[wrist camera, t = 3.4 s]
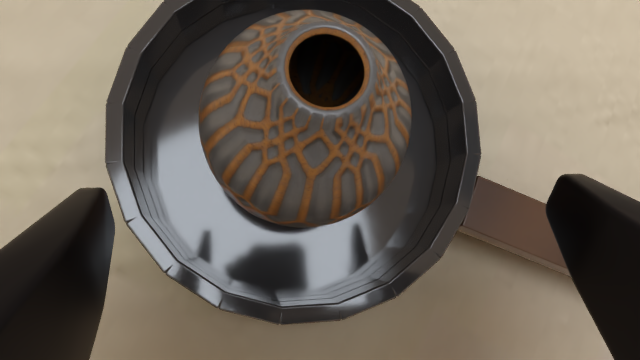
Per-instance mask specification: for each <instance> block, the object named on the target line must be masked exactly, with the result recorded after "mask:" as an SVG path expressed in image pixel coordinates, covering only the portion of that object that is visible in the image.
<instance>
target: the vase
mask: <svg viewBox="0 0 640 360" xmlns="http://www.w3.org/2000/svg"><path fill="white" fill-rule="evenodd" d="M198 120H199V135H200V141H201V145H202V149H203V152H204V155H205V158H206V161H207V163H208V166H209V168H210V170H211V172H212V173H213V175H214V177H215V179H216V180H217V182H218V183H219V184H220V186H221V187H222V188H223V189H224V191H225V192H226V193H227V194H228V195H229V196H230V197H231V198H232V199H233V200H234V201H235V202H236V203H237V204H238V205H240V206H241V207H242V208H244V209H245V210H247V211H248V212H250V213H251V214H253V215H255V216H257V217H259V218H261V219H263V220H266V221H269V222H271V223H275V224H278V225H282V226H288V227H297V228H308V227H319V226H325V225H330V224H333V223H336V222H339V221H342V220H345V219H347V218H349V217H351V216H353V215H355V214H357V213H358V212H360V211H362V210H363V209H365V208H366V207H367V206H369V205H370V204H371V203H373V202H374V201H375V200H376V199H377V198H378V197H379V196H380V195H381V194H382V193H383V192H384V191H385V189H386V188H387V187H388V186H389V184H390V183H391V182H392V180H393V179H394V177H395V175H396V174H397V172H398V170H399V168H400V166H401V164H402V161H403V159H404V156H405V154H406V150H407V147H408V143H409V138H410V132H411V122H412V113H411V101H410V95H409V91H408V87H407V84H406V81H405V78H404V76H403V73H402V71H401V69H400V67H399V65H398V63H397V61H396V60H395V58H394V56H393V55H392V54H391V52H390V51H389V49H388V48H387V47H386V46H385V45H384V44H383V43H382V42H381V40H380V39H378V38H377V37H376V36H375V35H374V34H373V33H372V32H370V31H369V30H368V29H366V28H365V27H363V26H362V25H360V24H358V23H356V22H355V21H353V20H351V19H348V18H346V17H343V16H341V15H338V14H335V13H331V12H326V11H320V10H292V11H286V12H282V13H278V14H275V15H272V16H269V17H267V18H264V19H262V20H260V21H258V22H256V23H254V24H253V25H251V26H249V27H248V28H246V29H245V30H244V31H242V32H241V33H240V34H239V35H238V36H236V37H235V38H234V39H233V40H232V41H231V42H230V43H229V44H228V45H227V47H226V48H225V49H224V50H223V51H222V53H221V54H220V55H219V57H218V58H217V60H216V61H215V63H214V65H213V67H212V69H211V70H210V72H209V75H208V77H207V79H206V82H205V84H204V88H203V91H202V95H201V99H200V107H199V119H198Z"/></svg>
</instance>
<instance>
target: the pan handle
mask: <svg viewBox="0 0 640 360" xmlns="http://www.w3.org/2000/svg"><path fill="white" fill-rule="evenodd" d="M457 231H460V232H462V233H465V234H467V235H470V236H472V237H475V238H477V239H480V240H482V241H484V242H487V243H489V244H492V245H494V246H497V247H499V248H502V249H504V250H506V251H509V252H511V253H514V254H516V255H519V256H521V257H524V258H526V259H529V260H531V261H533V262H536V263H538V264H541V265H543V266H546V267H548V268H551V269H553V270H556V271H558V272H560V273H563V274H565V275H568V276H570V273H569V271H568V269H567V266H566V264H565V261H564V259H563V256H562V254H561V251H560V249H559V246H558V244H557V241H556V239H555V236H554V234H553V231H552V229H551V226H550V224H549V221H548V219H547V216H546V204H545V203H542V202H540V201H538V200H535V199H533V198H531V197H528V196H526V195H523V194H521V193H519V192H516V191H514V190H511V189H509V188H507V187H504V186H502V185H500V184H497V183H495V182H492V181H490V180H488V179H485V178H483V177H480V176H477V177H476V182H475V186H474V191H473V196H472V200H471V205H470V208H469V211H468V213H467V215H466V216H465V218H464V220H463V222H462V223H461V225H460V227H459V228H458V230H457ZM570 277H571V276H570Z"/></svg>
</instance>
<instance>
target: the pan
mask: <svg viewBox="0 0 640 360" xmlns="http://www.w3.org/2000/svg"><path fill="white" fill-rule="evenodd" d="M292 10H320V11H326V12H331V13H335V14H338V15H341V16H343V17H346V18H348V19H351V20H353V21H355V22H356V23H358V24H360V25H362V26H363V27H365V28H366V29H368V30H369V31H370V32H372V33H373V34H374V35H375V36H376V37H377V38H378V39H380V40H381V42H382V43H383V44H384V45H385V46H386V47H387V48H388V49H389V51H390V52H391V54H392V55H393V56H394V58H395V60H396V61H397V63H398V65H399V67H400V69H401V71H402V73H403V76H404V78H405V81H406V84H407V87H408V91H409V95H410V101H411V113H412V122H411V132H410V138H409V143H408V147H407V150H406V154H405V156H404V159H403V161H402V164H401V166H400V168H399V170H398V172H397V174H396V175H395V177H394V179H393V180H392V182H391V183H390V184H389V186H388V187H387V188H386V189H385V191H384V192H383V193H382V194H381V195H380V196H379V197H378V198H377V199H376V200H375V201H374V202H373V203H371V204H370V205H369V206H367V207H366V208H365V209H363V210H362V211H360V212H358V213H357V214H355V215H353V216H351V217H349V218H347V219H345V220H342V221H339V222H336V223H333V224H330V225H325V226H319V227H308V228H297V227H288V226H282V225H278V224H275V223H271V222H269V221H266V220H263V219H261V218H259V217H257V216H255V215H253V214H251V213H250V212H248V211H247V210H245V209H244V208H242V207H241V206H240V205H238V204H237V203H236V202H235V201H234V200H233V199H232V198H231V197H230V196H229V195H228V194H227V193H226V192H225V191H224V189H223V188H222V187H221V186H220V184H219V183H218V182H217V180H216V179H215V177H214V175H213V173H212V172H211V170H210V168H209V166H208V163H207V161H206V158H205V155H204V152H203V149H202V145H201V141H200V135H199V120H198V119H199V107H200V99H201V95H202V91H203V88H204V84H205V82H206V79H207V77H208V75H209V72H210V70H211V69H212V67H213V65H214V63H215V61H216V60H217V58H218V57H219V55H220V54H221V53H222V51H223V50H224V49H225V48H226V47H227V45H228V44H229V43H230V42H231V41H232V40H233V39H234V38H235V37H236V36H238V35H239V34H240V33H241V32H242V31H244V30H245V29H246V28H248V27H249V26H251V25H253V24H254V23H256V22H258V21H260V20H262V19H264V18H267V17H269V16H272V15H275V14H278V13H282V12H286V11H292ZM480 159H481V147H480V136H479V126H478V115H477V105H476V101H475V97H474V94H473V92H472V89H471V87H470V85H469V82H468V80H467V77H466V75H465V72H464V70H463V68H462V65H461V63H460V60H459V58H458V55H457V53H456V51H454V48H453V46H452V45H451V44H450V43H449V41H448V40H447V39H446V38H445V37H444V35H443V34H442V33H441V32H440V30H439V29H438V28H437V27H436V25H435V24H434V23H433V22H432V20H431V19H430V18H429V17H428V15H427V14H426V13H425V12H424V11H423V9H422V8H420V6H418V5H417V4H416V3H414V2H413V1H411V0H164V2H162V3H161V5H160V6H159V7H158V8H157V10H156V11H155V12H154V13H153V15H152V16H151V17H150V18H149V19H148V21H147V22H146V23H145V24H144V26H143V27H142V28H141V29H140V31H139V32H138V33H137V34H136V36H135V37H134V38H133V39H132V40H131V42H130V43H129V44H128V46H127V48H126V49H125V52H124V55H123V58H122V60H121V63H120V66H119V69H118V71H117V74H116V77H115V80H114V82H113V85H112V88H111V91H110V93H109V96H108V99H107V103H106V137H105V163H106V168H107V171H108V174H109V177H110V180H111V183H112V186H113V189H114V192H115V194H116V197H117V200H118V203H119V206H120V209H121V212H122V215H123V218H124V221H125V222H126V224H127V226H128V228H129V229H130V230H131V231H132V233H133V234H134V235H135V237H136V238H137V239H138V240H139V242H140V243H141V244H142V246H143V247H144V248H145V249H146V251H147V252H148V253H149V255H150V256H151V257H152V259H153V260H154V261H155V262H156V264H157V265H158V266H159V268H160V269H161V270H162V271H163V272H164V273H165V274H166V275H167V276H168V277H170V278H171V279H173V280H175V281H176V282H178V283H179V284H181V285H182V286H184V287H185V288H187V289H188V290H190V291H191V292H193V293H194V294H196V295H197V296H199V297H200V298H202V299H203V300H205V301H207V302H208V303H210V304H211V305H213V306H214V307H216V308H219V309H220V310H224V311H227V312H231V313H235V314H239V315H243V316H247V317H250V318H254V319H258V320H262V321H266V322H270V323H274V324H277V325H278V324H281V325H287V324H301V323H315V322H328V321H340V320H341V319H342V320H344V319H346V318H349V317H351V316H354V315H356V314H358V313H361V312H363V311H366V310H368V309H370V308H373V307H375V306H377V305H380V304H382V303H385V302H387V301H389V300H392V299H394V298H396V296H399V295H400V294H401V293H403V292H404V291H405V290H406V289H407V288H408V287H409V286H411V285H412V284H413V283H414V282H415V281H416V280H417V279H418V278H420V277H421V276H422V275H423V274H424V273H425V272H426V271H428V270H429V269H430V268H431V267H432V266H433V265H434V264H435V263H437V262H438V261H439V260H440V258H441V257H442V256H443V254H444V252H445V251H446V249H447V247H448V246H449V244H450V242H451V240H452V239H453V237H454V235H455V234H456V232H457V230H458V228H459V227H460V225H461V223H462V222H463V220H464V218H465V216H466V215H467V213H468V211H469V208H470V205H471V200H472V196H473V191H474V186H475V182H476V177H477V172H478V168H479V163H480Z"/></svg>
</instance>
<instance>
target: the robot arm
mask: <svg viewBox="0 0 640 360" xmlns="http://www.w3.org/2000/svg"><path fill="white" fill-rule="evenodd" d="M546 216H547V219H548V221H549V224H550V226H551V229H552V231H553V234H554V236H555V239H556V241H557V244H558V246H559V249H560V251H561V254H562V256H563V259H564V261H565V264H566V266H567V269H568V271H569V273H570V276H571V278H572V280H573V282H574V284H575V286H576V288H577V290H578V292H579V294H580V296H581V298H582V299H583V301H584V303H585V305H586V307H587V309H588V311H589V313H590V315H591V316H592V318H593V320H594V322H595V324H596V326H597V328H598V330H599V332H600V334H601V335H602V337H603V339H604V341H605V343H606V345H607V347H608V349H609V351H610V352H611V354H612V356H613V358H614V360H640V202H639V201H637V200H635V199H633V198H631V197H628V196H626V195H624V194H622V193H620V192H618V191H616V190H614V189H612V188H610V187H608V186H606V185H604V184H602V183H600V182H598V181H596V180H594V179H591V178H589V177H587V176H585V175H583V174H564V175H562V176H560V177H559V178H558V180H557V182H556V184H555V186H554V188H553V190H552V193H551V195H550V197H549V199H548V201H547V204H546ZM114 235H115V223H114V219H113V215H112V211H111V207H110V204H109V200H108V196H107V193H106V191H105V190H104V189H103V188H81V189H78V190H77V191H75V192H74V193H73V194H72V195H70V196H69V197H68V198H66V199H65V200H64V201H62V202H61V203H60V204H59V205H57V206H56V207H55V208H53V209H52V210H51V211H50V212H48V213H47V214H46V215H44V216H43V217H42V218H40V219H39V220H38V221H37V222H35V223H34V224H33V225H31V226H30V227H29V228H27V229H26V230H25V231H24V232H22V233H21V234H20V235H18V236H17V237H16V238H15V239H13V240H12V241H11V242H9V243H8V244H7V245H5V246H4V247H3V248H2V249H0V360H89V359H90V355H91V351H92V348H93V344H94V341H95V337H96V334H97V330H98V326H99V323H100V319H101V315H102V311H103V307H104V302H105V296H106V290H107V283H108V276H109V269H110V262H111V255H112V249H113V242H114Z"/></svg>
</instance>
